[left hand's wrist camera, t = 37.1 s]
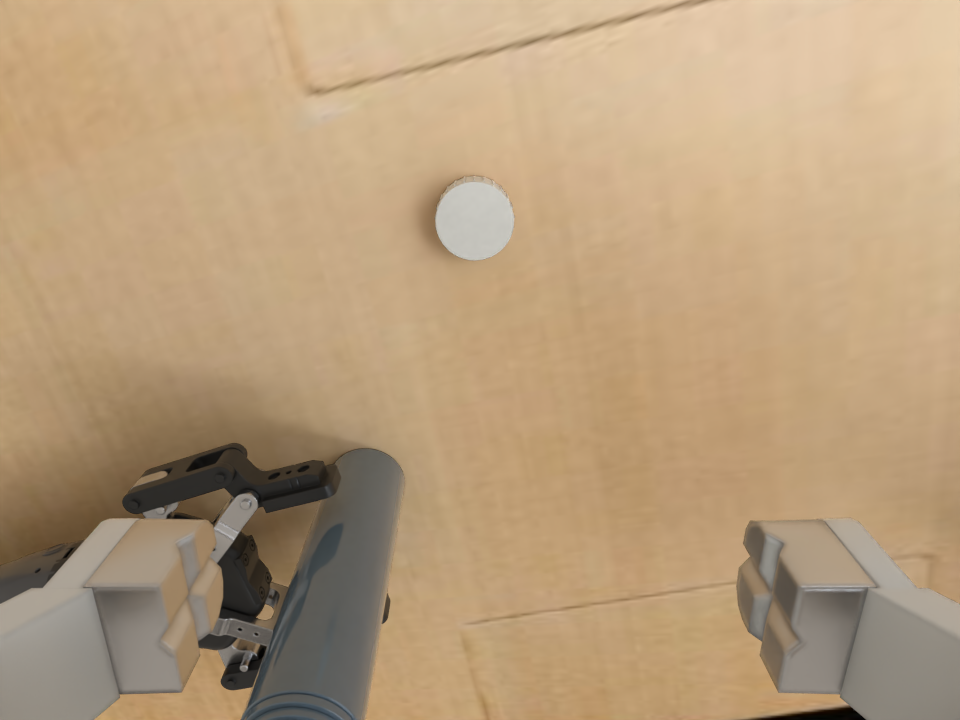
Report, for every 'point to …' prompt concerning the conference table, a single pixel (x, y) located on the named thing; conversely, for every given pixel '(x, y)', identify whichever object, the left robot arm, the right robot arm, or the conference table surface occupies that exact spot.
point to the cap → (474, 218)
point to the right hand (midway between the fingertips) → (363, 544)
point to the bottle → (334, 600)
